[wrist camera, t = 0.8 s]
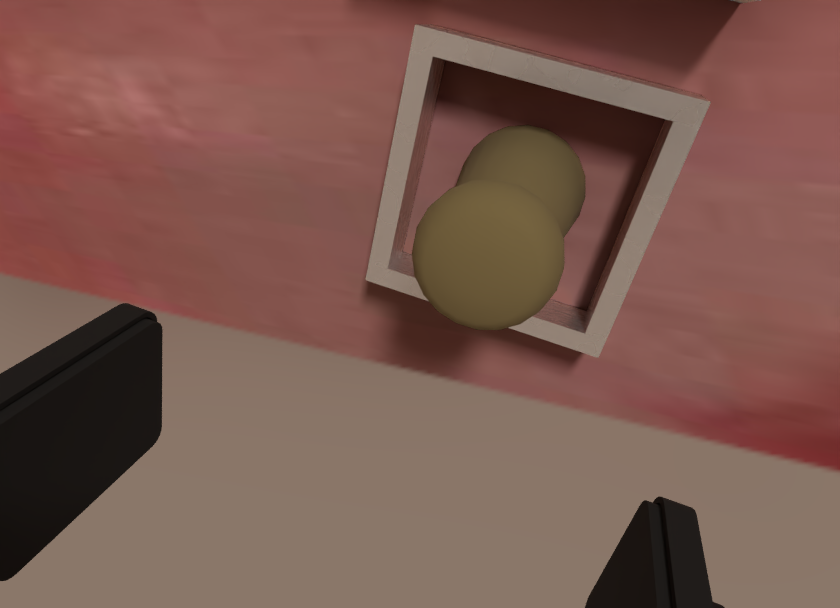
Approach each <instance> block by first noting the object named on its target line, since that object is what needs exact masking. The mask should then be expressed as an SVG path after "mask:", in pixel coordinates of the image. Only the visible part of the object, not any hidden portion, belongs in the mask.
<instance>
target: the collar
mask: <svg viewBox="0 0 840 608" xmlns="http://www.w3.org/2000/svg"><path fill="white" fill-rule="evenodd" d="M445 60H448V61H452V62H456V63H459V64H463V65H467V66H470V67H474V68H478V69H481V70H485V71H489V72H493V73H496V74H500V75H504V76H507V77H511V78H515V79H518V80H522V81H526V82H530V83H533V84H537V85H541V86H544V87H548V88H552V89H555V90H559V91H563V92H567V93H570V94H574V95H578V96H581V97H585V98H589V99H592V100H596V101H600V102H604V103H607V104H611V105H615V106H618V107H622V108H626V109H629V110H633V111H637V112H641V113H644V114H648V115H652V116H655V117H659V118H663V119H665V121H664V123H663V126H662V128H661V130H660V133H659V135H658V138H657V140H656V143H655V145H654V148H653V150H652V152H651V155H650V157H649V160H648V162H647V165H646V167H645V170H644V172H643V174H642V177H641V179H640V182H639V184H638V187H637V189H636V192H635V194H634V196H633V199H632V201H631V204H630V206H629V209H628V211H627V214H626V216H625V218H624V221H623V223H622V226H621V228H620V231H619V233H618V236H617V238H616V240H615V243H614V245H613V248H612V250H611V253H610V255H609V258H608V260H607V262H606V265H605V267H604V270H603V272H602V275H601V277H600V280H599V282H598V284H597V287H596V289H595V292H594V294H593V297H592V299H591V302H590V304H589V306H588V309H587V311H584V310H581V309H578V308H575V307H572V306H569V305H566V304H563V303H560V302H557V301H553V300H550V299H549V301H548V302H547V303H546V304H545V306H544V307H543V308H542V309H541V310H540V311H539V312H538V313H537V314H535V315H534V316H532V317H531V318H529V319H527V320H526V321H524V322H523V323H521V324H519V325H516V326H512V327H508V328H510V329H513V330H516V331H519V332H522V333H525V334H528V335H531V336H534V337H537V338H540V339H543V340H546V341H549V342H552V343H555V344H558V345H561V346H564V347H567V348H570V349H573V350H576V351H579V352H582V353H585V354H588V355H591V356H594V357H597V358H598V357H599V355H600V353H601V351H602V348H603V346H604V344H605V342H606V339H607V337H608V335H609V332H610V330H611V328H612V326H613V323H614V321H615V319H616V316H617V314H618V312H619V310H620V307H621V305H622V303H623V301H624V298H625V296H626V294H627V291H628V289H629V287H630V285H631V282H632V280H633V278H634V276H635V273H636V271H637V269H638V266H639V264H640V262H641V260H642V257H643V255H644V253H645V251H646V248H647V246H648V244H649V241H650V239H651V237H652V235H653V232H654V230H655V228H656V226H657V223H658V221H659V219H660V216H661V214H662V212H663V210H664V207H665V205H666V203H667V201H668V198H669V196H670V194H671V191H672V189H673V187H674V185H675V182H676V180H677V178H678V176H679V173H680V171H681V169H682V166H683V164H684V162H685V160H686V157H687V155H688V153H689V151H690V148H691V146H692V144H693V141H694V139H695V137H696V135H697V132H698V130H699V128H700V126H701V123H702V121H703V119H704V116H705V114H706V112H707V110H708V107H709V105H710V103H711V102H710V101H709V100H707V99H706V98H705V97H703V96H702V95H699V94H695V93H692V92H688V91H684V90H680V89H676V88H672V87H669V86H665V85H661V84H657V83H653V82H650V81H646V80H642V79H638V78H634V77H630V76H627V75H623V74H619V73H615V72H611V71H608V70H604V69H600V68H596V67H592V66H588V65H585V64H581V63H577V62H573V61H569V60H566V59H562V58H558V57H554V56H550V55H546V54H543V53H539V52H535V51H531V50H527V49H524V48H520V47H516V46H512V45H508V44H504V43H501V42H497V41H493V40H489V39H485V38H482V37H478V36H474V35H470V34H466V33H462V32H459V31H455V30H451V29H447V28H443V27H440V26H436V25H432V24H415V28H414V33H413V38H412V43H411V49H410V54H409V59H408V64H407V69H406V74H405V80H404V85H403V90H402V95H401V100H400V105H399V110H398V116H397V121H396V126H395V131H394V136H393V141H392V146H391V152H390V157H389V162H388V167H387V172H386V177H385V182H384V188H383V193H382V198H381V203H380V208H379V213H378V218H377V224H376V229H375V234H374V239H373V244H372V249H371V255H370V260H369V265H368V270H367V275H366V280H367V281H370V282H373V283H376V284H379V285H382V286H385V287H388V288H391V289H394V290H397V291H400V292H403V293H406V294H409V295H412V296H415V297H418V298H421V299H424V300H426V301H428V300H427V298H426V297H425V296H424V295H423V293H422V291H421V289H420V286H419V284H418V282H417V280H416V278H415V276H414V268H413V260H412V255H411V254H408V253H405V252H403V248H404V244H405V239H406V235H407V230H408V226H409V221H410V217H411V212H412V208H413V203H414V199H415V194H416V190H417V185H418V181H419V176H420V172H421V167H422V163H423V158H424V154H425V149H426V145H427V140H428V136H429V131H430V127H431V122H432V118H433V113H434V109H435V104H436V100H437V95H438V91H439V86H440V82H441V77H442V73H443V68H444V64H445Z"/></svg>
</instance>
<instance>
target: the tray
mask: <svg viewBox="0 0 840 608" xmlns="http://www.w3.org/2000/svg"><path fill="white" fill-rule="evenodd" d="M730 1H734V2H738V3H746V2H753V1H761V0H730Z"/></svg>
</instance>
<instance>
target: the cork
mask: <svg viewBox="0 0 840 608" xmlns="http://www.w3.org/2000/svg"><path fill="white" fill-rule="evenodd" d="M584 199H585V174H584V171H583V169H582V166H581V163H580V160H579V157H578V156H577V155H576V153H575V152H574V151H573V150H572V148H571V147H570V146H569V145H568V143H567V142H566V141H565V140H563V139H562V138H560V137H559V136H557V135H555V134H554V133H552V132H551V131H549V130H547V129H543V128H539V127H535V126H531V125H520V126H508V127H505V128H503V129H500V130H498V131H496V132H493V133H491V134H489V135H488V136H486V137H485V138H484V139H483V140H482V141H481V142H479V143H478V144H477V145H476V146H475V147H474V148H473V149H472V151H471V153H470V155H469V156H468V158H467V160H466V161H465V163H464V165H463V168H462V170H461V173H460V176H459V179H458V182H457V185H456V187H454V188H451V189H449V190H448V191H447V192H446V193H445V194H444V195H442V196H441V197H440V198H439V199H438V200H436V201H435V202H434V203H433V204H432V205H431V206H430V207H429V208H428V209H427V211H426V213H425V214H424V216H423V218H422V219H421V221H420V223H419V225H418V226H417V229H416V234H415V239H414V244H413V250H412V260H413V268H414V276H415V278H416V280H417V282H418V284H419V286H420V289H421V291H422V293H423V295H424V296H425V297H426V298H427V300H428V301H429V302H430V303H431V304H432V305H433V306H434V308H435V309H436V310H437V311H438V312H440V313H441V314H443V315H444V316H446V317H448V318H449V319H451V320H452V321H454V322H455V323H458V324H461V325H464V326H467V327H470V328H474V329H477V330H501V329H505V328H508V327H512V326H516V325H519V324H521V323H523V322H524V321H526V320H527V319H529V318H531V317H532V316H534V315H535V314H537V313H538V312H539V311H540V310H541V309H542V308H543V307H544V306H545V304H546V303H547V302H548V301H549V299H550V298H551V297H552V296H553V294H554V293H555V292H556V290H557V287H558V284H559V281H560V278H561V275H562V272H563V269H564V239H563V238H564V237H565V235H566V234H567V232H568V231H569V229H570V228H571V226H572V225H573V224H574V222H575V221H576V219H577V218H578V216H579V214H580V211H581V208H582V205H583V202H584Z"/></svg>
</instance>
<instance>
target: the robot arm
mask: <svg viewBox="0 0 840 608" xmlns="http://www.w3.org/2000/svg"><path fill="white" fill-rule="evenodd" d="M161 427H162V326H161V324H160V323H158V322H157V318H156V316H155V314H154V313H152V312H150V311H147V310H144V309H141V308H139V307H136V306H133V305H130V304H128V303H123V304H120V305H118V306H117V307H114V308H113V309H111V310H109V311H108V312H106V313H104V314H102V315H101V316H99V317H97V318H96V319H94V320H92V321H91V322H89V323H87V324H85V325H83V326H82V327H80V328H79V329H77V330H75V331H73V332H71V333H70V334H68V335H66V336H65V337H63V338H61V339H59V340H58V341H56V342H55V343H52V344H51V345H49V346H47V347H46V348H44V349H42V350H40V351H39V352H37V353H35V354H34V355H32V356H30V357H28V358H27V359H25V360H23V361H22V362H20V363H18V364H16V365H15V366H13V367H11V368H9V369H8V370H6V371H4V372H3V373H1V374H0V581H6V580H8V579H10V578H12V577H13V576H14V575H15V574H17V572H19V571H20V570H21V569H22V568H23V567H24V566H25V565H26V564H27V563H28V562H29V561H30V560H32V559H33V558H34V557H35V556H36V555H37V554H38V553H39V552H40V551H41V550H42V549H43V548H44V547H45V546H46V545H47V544H48V543H50V542H51V541H52V540H53V539H54V538H55V537H56V536H57V535H58V534H59V533H60V532H61V531H62V530H63V529H65V528H66V527H67V526H68V525H69V524H70V523H71V522H72V521H73V520H74V519H75V518H76V517H77V516H78V515H79V514H81V513H82V512H83V511H84V510H85V509H86V508H87V507H88V506H89V505H90V504H91V503H92V502H93V501H94V500H96V499H97V498H98V497H99V496H100V495H101V494H102V493H103V492H104V491H105V490H106V489H107V488H108V487H110V486H111V485H112V483H114V482H115V481H116V480H117V479H118V478H119V477H120V476H121V475H122V474H123V473H124V472H125V471H126V470H128V469H129V468H130V467H131V466H132V465H133V464H134V463H135V462H136V461H137V460H138V459H139V458H140V457H142V456H143V455H144V454H145V453H146V452H147V451H148V450H149V449H150V448H151V447H152V446H153V445H154V444H155V443H156V441H157V440H158V437H159V436H160V432H161ZM585 608H724V607H723V606H722V605H720V604H717V603H714V602H713V601H712V596H711V591H710V585H709V580H708V574H707V569H706V563H705V558H704V553H703V547H702V542H701V536H700V531H699V525H698V520H697V515H696V512H695V510H694V509H693V508H691V507H688V506H685V505H683V504H680V503H677V502H674V501H671V500H669V499H666V498H663V497H657V498H656V499H655V500H654V502H653V503H652V502H649V501H643V502H642V504H641V505H640V506H639V508H638V510H637V512H636V513H635V515H634V517H633V519H632V521H631V522H630V524H629V526H628V528H627V529H626V531H625V533H624V535H623V537H622V538H621V540H620V542H619V544H618V545H617V547H616V549H615V551H614V553H613V554H612V556H611V558H610V560H609V561H608V563H607V565H606V567H605V569H604V570H603V572H602V574H601V576H600V577H599V579H598V581H597V583H596V585H595V586H594V588H593V590H592V592H591V594H590V595H589V598H588V600H587V603H586V606H585Z"/></svg>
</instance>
